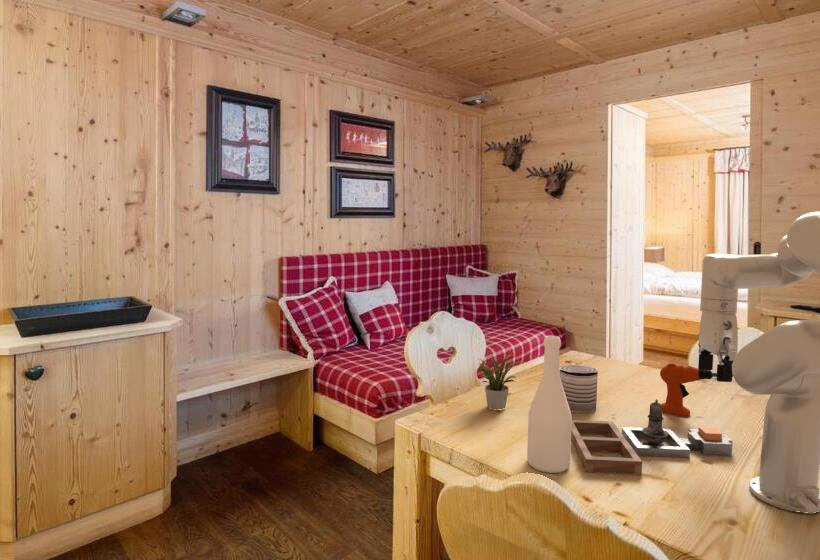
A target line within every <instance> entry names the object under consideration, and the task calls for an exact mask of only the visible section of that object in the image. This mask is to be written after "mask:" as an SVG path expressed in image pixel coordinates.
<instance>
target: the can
mask: <svg viewBox="0 0 820 560" xmlns="http://www.w3.org/2000/svg"><path fill="white" fill-rule="evenodd" d="M598 373H599V368H597V367H592V366H588V365H577V364H576V365H574V364H572V365H571V364H570V365H569V364H568V365H559V374H560V379H561V382H562V385H563V389H564V392H565V395H566V399H567V402H568V405H569V408H570V412H571V411H573V412H572V413H576V412H578V413H577V414H581V413H582V414H583V413H584V414H586V413H587V414H589V413H592V412H595V411H597V398H598V396H597V395H598Z"/></svg>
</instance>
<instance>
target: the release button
mask: <svg viewBox="0 0 820 560" xmlns="http://www.w3.org/2000/svg"><path fill="white" fill-rule="evenodd" d="M697 429H698V434H699V435H700V436H701V437H702V438H703V439H704V440H722V433H723V432H721V431H720V430H718V428H716V427H710V426H709V427H708V426H698V428H697Z"/></svg>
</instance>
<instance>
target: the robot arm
mask: <svg viewBox="0 0 820 560" xmlns="http://www.w3.org/2000/svg"><path fill="white" fill-rule="evenodd" d="M701 268H702V269H701V270H702V271H701V284H700V285H701V287H700V291H701V292H700V306H699V307H700V309H699V311H700V312H701V315H700V322H699V333H698V334H697V339H698V343H697V345H698V368H697V369H699V370H710V371H712V370H713V369H714V368H713V367H714V355H715V356H716V357H717V360H718V361H717V362H718V364H716V373H717V377H715V378H716V381H717V382H719V383H720V382H723V383H731V382H732V381H733V379H734V381H735V382H736V384H737V385H738V386H739V387H740V388H741V389H742V390H744V391H746V392H748V393H750V394H753V395H761V396H763V395H770V396H769V397H768V400H767V402H766V405H765V409H764V417H763V428H762V436H761V437H762V440H761V448H760V449H761V451H760V464H759V475H758V476H757V477H755V476H754V477H753V478H751V480H750V481H749V484H748V485H749V486H748V488H749V491H750V492H751V493H752V495H754V496H755V497H756V498H757V499H759V500H760V501H763V502H764V503H765V504H767V505H768V504H769V505H771V506H772V507H773V506H774V507H776V508H778V509H781V510H784V509H785V511H788V510H790V511H789V512H792V511H800V512H808V513H807V514H815V513H814V512H817V511H820V488H819V487H818V485H819V477H820V475H819V474H820V319H799V320H796V319H795V320H790V321H786V322H783V323H780V324H778V325H776V326H774V327H772V328H770V329H769V330H767V331H766V332H764V333H763V334H760V335H759V336H758V337H756V338H755V339H753V340H752V341H750V342H749V343H747V344H746V345H744V346H743V347H742V348H740V349H739V350H738V346H739V345H738V344H739V343H738V342H739V339H738V338H739V337H738V335H739V333H738V320H737V313H738V311H737V310H738V294H739V293H738V292H739V290H741V289H744V290H745V289H774V288H779V287H784V286H788V285H789V286H790V285H791V284H797V283H799V282H802V281H805V280H807V279H808V278H809V277H811V275H812V274H814V273H819V274H820V211H813V212H808V213H806V214H803V215H801V216H800V217H797V218H796V219H795V220H794V221H793V222H792V223H791V224H790V226H789V228H788V230H787V232H786V234H785V235H784V236H783V237H782V238H781V239H780V240H779V242H778V244H777V248H776V253H771V254H731V253H709V254H706V255H705V256H704V257H703V259H702V267H701ZM732 374H733V377H732Z"/></svg>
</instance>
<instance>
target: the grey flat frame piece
mask: <svg viewBox="0 0 820 560" xmlns="http://www.w3.org/2000/svg"><path fill="white" fill-rule="evenodd" d="M643 428H644V427H624V426H623V427H621V433H622V435H623V436H624V437H625V439H626V440H627V441H628V443H629V444H630V445H631V447H632V448H633V450H634V451H635V452H636V454H637V455H638V456H639V457H642V456H643V457H658V458H660V457H661V458H662V457H663V458H685V459H690V458H691V451H694V452H699V453H700V454H702V456H717V457H718V456H719V457H732V455H733V454H732V453H733V440H732V439H731V438H730V437H729V436H727V435H726V434H725V433H724V432H721V433H722V440H704V439H703V438H702V437H701V436H700V435H699V434H698V428H688V431H687V438H679V437H678V436H677V435H676V433H675V432H674V431H673V430H671V428H662V429H663V430H664V431H666V432H667V433H668V436H667V437H666V441H667V442H668V443H669V444H670V445H665V446H649V445H643V444H642V443H641V442H640V441H639V440H638V439H641V438H642V439H645V438H644V435H643V432H642V429H643Z"/></svg>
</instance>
